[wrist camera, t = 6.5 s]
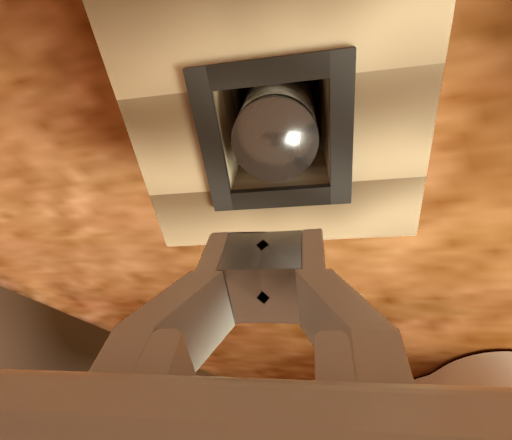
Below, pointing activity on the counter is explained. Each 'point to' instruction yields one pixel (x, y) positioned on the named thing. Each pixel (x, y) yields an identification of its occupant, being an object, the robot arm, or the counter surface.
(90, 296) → the counter surface
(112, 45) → the socket block
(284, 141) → the peg
